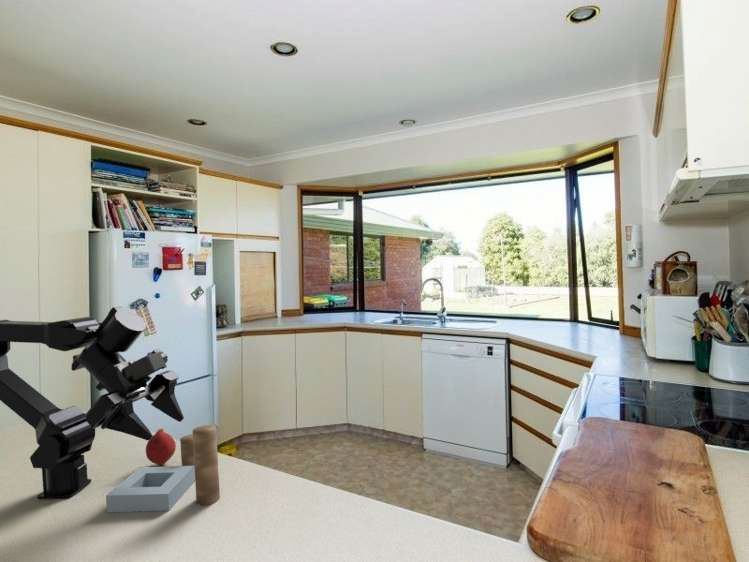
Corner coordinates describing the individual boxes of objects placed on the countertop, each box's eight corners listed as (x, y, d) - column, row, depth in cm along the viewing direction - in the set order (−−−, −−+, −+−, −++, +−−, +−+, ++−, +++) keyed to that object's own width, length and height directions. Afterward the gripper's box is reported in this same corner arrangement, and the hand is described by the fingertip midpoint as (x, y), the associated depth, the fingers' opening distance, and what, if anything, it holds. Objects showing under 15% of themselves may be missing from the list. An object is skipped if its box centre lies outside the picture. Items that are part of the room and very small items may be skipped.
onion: (164, 472, 94) (162, 434, 94) (140, 470, 95) (138, 433, 95) (181, 460, 99) (179, 424, 99) (158, 458, 101) (156, 423, 100)
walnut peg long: (192, 505, 80) (188, 433, 80) (201, 494, 84) (198, 425, 83) (215, 504, 80) (211, 432, 79) (223, 493, 84) (219, 424, 83)
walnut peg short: (178, 475, 92) (176, 441, 92) (187, 466, 96) (185, 434, 96) (198, 474, 92) (196, 441, 92) (205, 466, 96) (204, 433, 96)
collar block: (106, 512, 79) (105, 495, 79) (140, 482, 90) (139, 467, 90) (169, 510, 79) (168, 493, 78) (195, 480, 90) (194, 465, 89)
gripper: (96, 348, 74) (160, 415, 72) (167, 331, 92) (220, 384, 91) (58, 395, 76) (120, 462, 74) (135, 369, 94) (186, 422, 92)
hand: (167, 428), depth 83 cm, fingers open, 9 cm apart
